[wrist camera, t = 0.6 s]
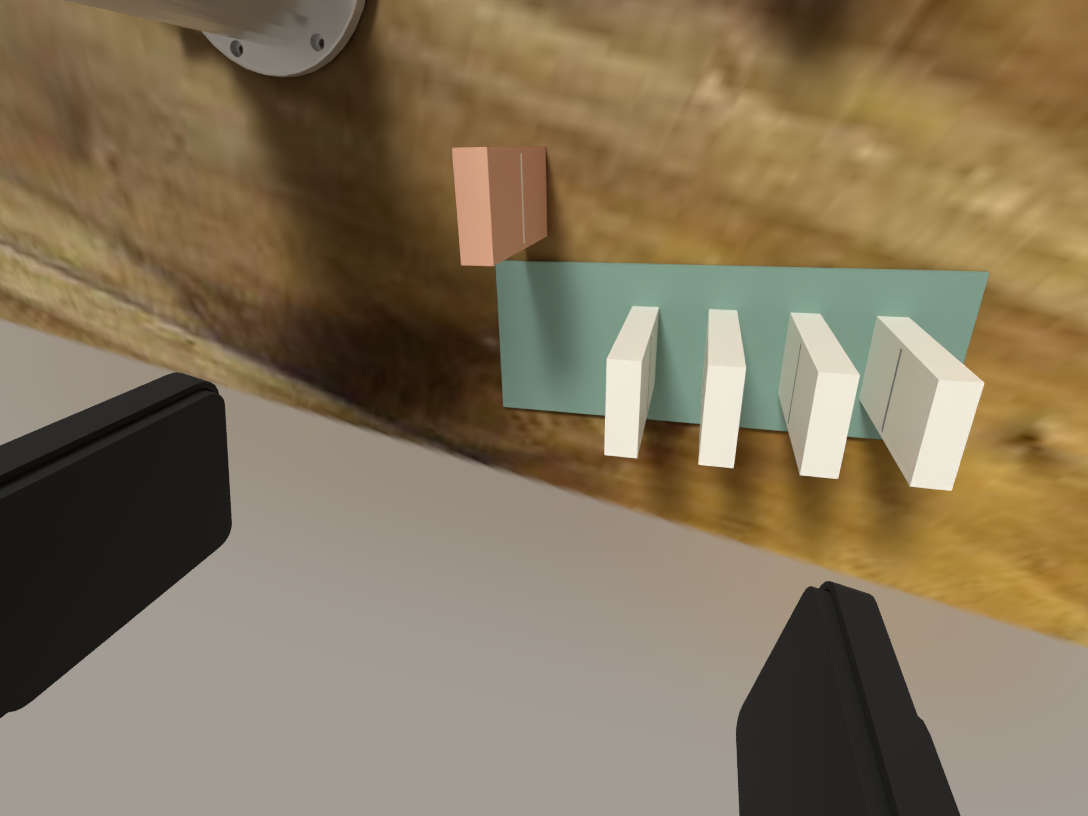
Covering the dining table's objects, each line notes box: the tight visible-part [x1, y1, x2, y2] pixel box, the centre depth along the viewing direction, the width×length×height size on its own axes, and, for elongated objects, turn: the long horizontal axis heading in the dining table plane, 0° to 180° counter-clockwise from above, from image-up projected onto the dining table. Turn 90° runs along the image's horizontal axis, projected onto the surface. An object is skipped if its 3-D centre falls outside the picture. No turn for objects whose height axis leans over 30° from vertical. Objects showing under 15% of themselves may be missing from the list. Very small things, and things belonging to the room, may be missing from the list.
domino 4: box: [859, 316, 984, 491], centre depth 29 cm, size 2×5×10 cm, turn 1°
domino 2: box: [698, 309, 746, 468], centre depth 31 cm, size 2×5×10 cm, turn 1°
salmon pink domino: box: [452, 147, 547, 266], centre depth 30 cm, size 2×5×10 cm, turn 1°
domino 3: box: [778, 313, 860, 479], centre depth 30 cm, size 2×5×10 cm, turn 1°
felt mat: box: [496, 260, 989, 440], centre depth 36 cm, size 27×10×1 cm, turn 91°
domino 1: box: [604, 306, 659, 458], centre depth 32 cm, size 2×5×10 cm, turn 1°
